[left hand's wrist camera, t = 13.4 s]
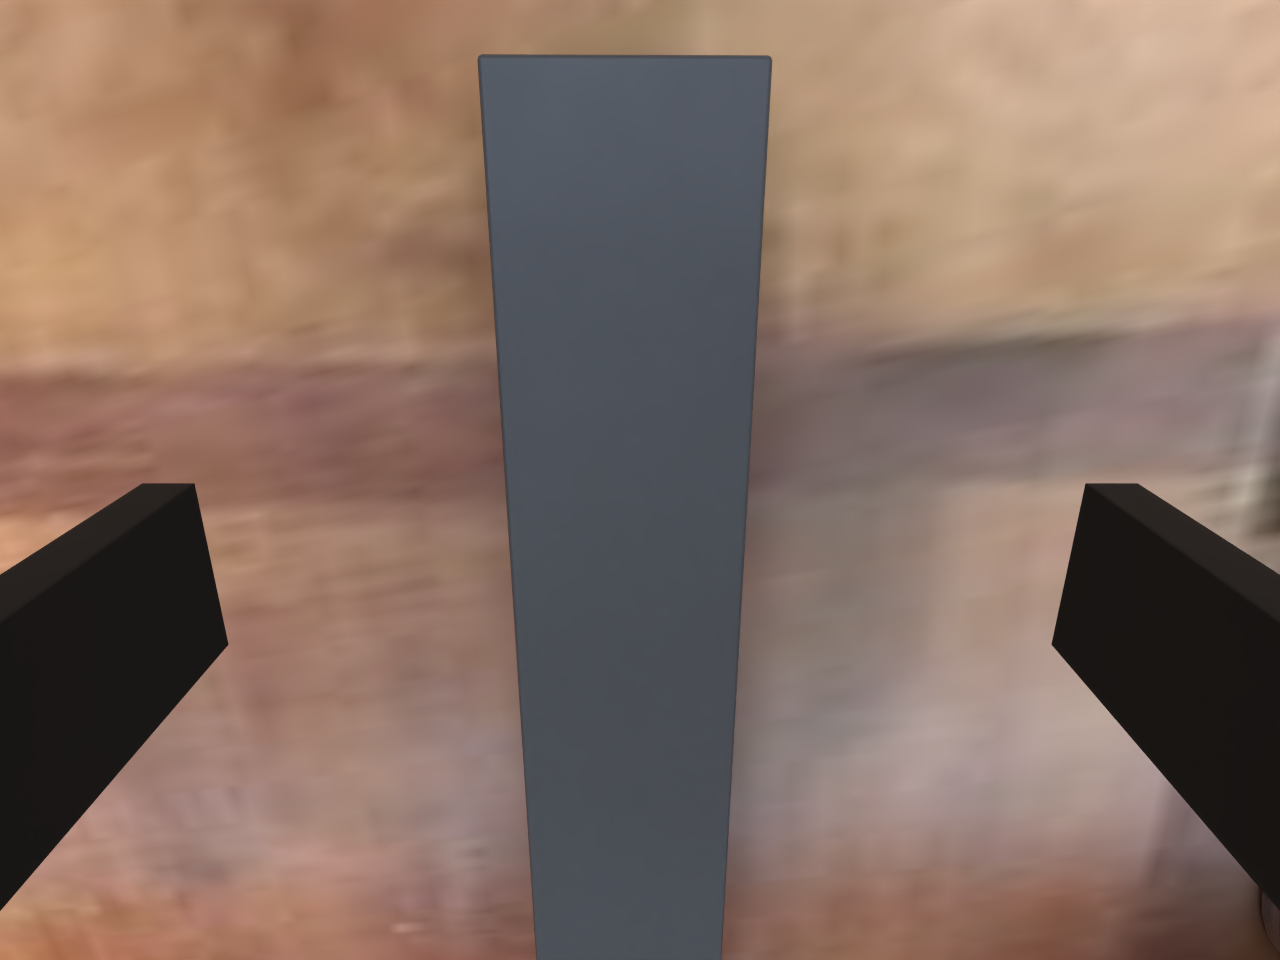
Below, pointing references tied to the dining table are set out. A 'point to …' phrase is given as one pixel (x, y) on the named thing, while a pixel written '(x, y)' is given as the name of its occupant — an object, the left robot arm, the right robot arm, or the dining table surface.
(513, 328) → the beam
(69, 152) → the dining table surface
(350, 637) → the dining table surface
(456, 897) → the dining table surface
